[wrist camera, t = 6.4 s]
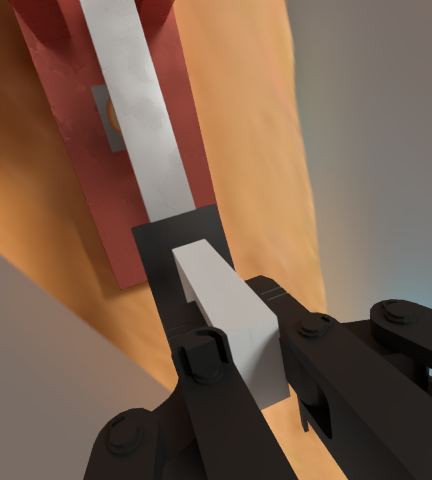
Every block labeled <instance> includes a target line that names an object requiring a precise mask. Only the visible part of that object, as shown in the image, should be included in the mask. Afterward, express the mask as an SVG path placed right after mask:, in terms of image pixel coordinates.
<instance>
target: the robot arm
mask: <svg viewBox="0 0 432 480" xmlns="http://www.w3.org/2000/svg"><path fill="white" fill-rule="evenodd" d="M172 252H173V255H174V258H175V262H176V265H177V269H178V272H179V275H180V279H181V282H182V286H183V289H184V292H185V296H186V299H187V303H186V304H183V305H180V306H177V307H175V308H172V309H169V310H167V312H166V315H165V318H164V323H165V327H166V330H167V334H168V337H169V341H170V344H171V348H172V355H171V357H172V360H173V363H174V366H175V369H176V371H177V374H178V377H179V378H178V383H177V386H176V388H175V390H174V391H173V393H172V394H171V395H170V397H169V398H168V399H167V400H166V401H165V402H163V403H162V404H161V405H160V406H158V407H157V408H156V409H155V410H153V411H152V412H151V411H149V410H146V409H144V408H133V409H129V410H127V411H124V412H122V413H119V414H118V415H117V416H115V417H114V418H112V419H111V420H110V421H109V422H108V423H107V424H106V425H105V426H104V427H103V429H102V430H101V431H100V433H99V434H98V437H97V439H96V441H95V443H94V445H93V448H92V452H91V455H90V458H89V462H88V465H87V468H86V472H85V475H84V479H83V480H298V478H297V476H296V474H295V472H294V471H293V469H292V467H291V465H290V463H289V461H288V460H287V458H286V456H285V454H284V452H283V451H282V449H281V447H280V445H279V443H278V442H277V440H276V438H275V436H274V434H273V432H272V431H271V429H270V427H269V425H268V423H267V422H266V420H265V418H264V416H263V414H262V412H261V411H260V410H262V409H265V408H267V407H269V406H271V405H273V404H275V403H277V402H280V401H282V400H284V399H286V398H288V397H290V391H289V385H288V383H289V384H290V385H291V387H292V388H293V389H294V391H295V392H296V394H297V398H298V404H299V410H300V416H301V423H302V426H303V429H304V431H305V432H307V431H309V429H308V423H307V421H308V422H309V423H310V425H311V426H312V428H313V429H314V431H315V432H316V434H317V435H318V437H319V438H320V439H321V441H322V442H323V444H324V445H325V447H326V448H327V450H328V451H329V452H330V454H331V455H332V457H333V458H334V460H335V461H336V463H337V464H338V465H339V467H340V468H341V470H342V471H343V473H344V474H345V476H346V477H347V479H348V480H432V376H430V375H429V368H431V369H432V309H430V308H428V307H425V306H422V305H419V304H417V303H414V302H410V301H405V300H396V299H390V300H385V301H381V302H378V303H376V304H374V305H373V307H372V308H371V309H370V319H368V320H362V321H355V322H348V323H340V322H338V321H337V320H336V319H334V318H332V317H331V316H329V315H327V314H322V313H318V312H317V313H311V312H309V311H308V310H307V309H306V308H305V307H304V306H303V305H301V304H300V303H299V302H298V301H297V300H296V299H295V298H293V297H292V296H291V295H290V294H289V293H287V291H285V290H284V289H283V288H282V287H280V285H279V284H277V283H276V282H275V281H274V280H273V279H270V278H268V277H265V276H262V275H260V276H257V277H254V278H251V279H249V280H246V281H243V280H242V279H241V277H240V276H239V275H238V274H237V273H236V272H235V271H234V270H233V269H232V268H231V267H230V266H229V265H228V263H227V262H226V261H225V260H224V259H223V258H222V257H221V256H220V255H219V254H218V253H217V252H216V251H215V249H214V248H213V247H212V246H211V245H210V244H209V243H208V242H207V241H206V240H205V239H203V240H199V241H196V242H193V243H190V244H187V245H184V246H181V247H178V248H175V249H172Z"/></svg>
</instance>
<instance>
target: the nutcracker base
mask: <svg viewBox="0 0 432 480" xmlns="http://www.w3.org/2000/svg"><path fill="white" fill-rule="evenodd" d="M9 1H10V3H11V4H12V7H13V10H14V12H15V15H16V18H17V20H18V23H19V25H20V28H21V31H22V33H23V36H24V39H25V41H26V44H27V46H28V49H29V52H30V54H31V57H32V60H33V62H34V65H35V67H36V70H37V73H38V75H39V78H40V81H41V83H42V86H43V88H44V91H45V94H46V96H47V99H48V102H49V104H50V107H51V109H52V112H53V115H54V117H55V120H56V123H57V125H58V128H59V130H60V133H61V136H62V138H63V141H64V144H65V146H66V149H67V152H68V154H69V157H70V159H71V162H72V165H73V167H74V170H75V173H76V175H77V178H78V180H79V183H80V186H81V188H82V191H83V194H84V196H85V199H86V201H87V204H88V207H89V209H90V212H91V215H92V217H93V220H94V222H95V225H96V228H97V230H98V233H99V236H100V238H101V241H102V243H103V246H104V249H105V251H106V254H107V257H108V259H109V262H110V264H111V267H112V270H113V272H114V275H115V278H116V280H117V283H118V285H119V288H120V290H122V289H125V288H128V287H131V286H134V285H136V284H139V283H142V282H145V281H148V279H147V276H146V273H145V270H144V267H143V264H142V261H141V258H140V255H139V252H138V249H137V246H136V243H135V240H134V237H133V234H132V231H131V228H132V227H135V226H138V225H141V224H145V223H148V222H149V219H148V216H147V212H146V209H145V206H144V203H143V200H142V197H141V194H140V191H139V187H138V184H137V181H136V178H135V175H134V172H133V169H132V166H131V162H130V159H129V156H128V153H127V150H126V147H125V144H124V141H123V137H122V134H121V131H120V128H119V125H118V122H117V119H116V116H115V112H114V109H113V106H112V103H111V100H110V97H109V94H108V91H107V87H106V84H105V81H104V78H103V75H102V72H101V69H100V66H99V62H98V59H97V56H96V53H95V50H94V47H93V44H92V41H91V37H90V34H89V31H88V28H87V25H86V22H85V19H84V16H83V12H82V9H81V6H80V3H79V0H9ZM174 1H175V0H134V2H135V5H136V9H137V12H138V15H139V19H140V22H141V25H142V29H143V32H144V36H145V39H146V42H147V46H148V49H149V52H150V56H151V59H152V62H153V66H154V69H155V73H156V76H157V79H158V83H159V86H160V89H161V93H162V96H163V100H164V103H165V106H166V110H167V113H168V116H169V120H170V123H171V126H172V130H173V133H174V137H175V140H176V143H177V147H178V150H179V153H180V157H181V160H182V163H183V167H184V170H185V174H186V177H187V180H188V184H189V187H190V190H191V194H192V197H193V201H194V204H195V207H196V208H199V207H202V206H205V205H210V204H216V205H217V202H216V198H215V193H214V189H213V184H212V180H211V175H210V171H209V166H208V162H207V157H206V153H205V148H204V144H203V139H202V135H201V131H200V126H199V122H198V117H197V113H196V108H195V104H194V99H193V95H192V90H191V86H190V81H189V77H188V72H187V68H186V64H185V59H184V55H183V50H182V46H181V41H180V37H179V32H178V28H177V23H176V19H175V14H174V10H173V3H174ZM217 209H218V207H217ZM218 212H219V211H218ZM219 216H220V215H219Z"/></svg>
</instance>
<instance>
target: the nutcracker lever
mask: <svg viewBox="0 0 432 480" xmlns="http://www.w3.org/2000/svg"><path fill="white" fill-rule="evenodd" d="M79 3H80V6H81V9H82V12H83V16H84V19H85V22H86V25H87V28H88V31H89V34H90V37H91V41H92V44H93V47H94V50H95V53H96V56H97V59H98V62H99V66H100V69H101V72H102V75H103V78H104V81H105V84H106V87H107V91H108V94H109V97H110V100H111V103H112V106H113V109H114V112H115V116H116V119H117V122H118V125H119V128H120V131H121V134H122V137H123V141H124V144H125V147H126V150H127V153H128V156H129V159H130V162H131V166H132V169H133V172H134V175H135V178H136V181H137V184H138V187H139V191H140V194H141V197H142V200H143V203H144V206H145V209H146V212H147V216H148V219H149V222H148V223H145V224H141V225H138V226H135V227H132V228H131V231H132V234H133V237H134V240H135V243H136V246H137V249H138V252H139V255H140V258H141V261H142V264H143V267H144V270H145V273H146V276H147V279H148V282H149V285H150V288H151V291H152V294H153V297H154V300H155V303H156V307H157V310H158V313H159V316H160V319H161V322H162V325H163V328H164V331H165V334H166V337H167V340H168V343H169V346H170V349H171V352H172V348H171V344H170V341H169V337H168V334H167V330H166V327H165V323H164V318H165V315H166V312H167V310H169V309H172V308H175V307H177V306H180V305H183V304H186V303H187V299H186V296H185V292H184V289H183V286H182V282H181V279H180V275H179V272H178V269H177V265H176V262H175V258H174V255H173V252H172V249H175V248H178V247H181V246H184V245H187V244H190V243H193V242H196V241H199V240H203V239H205V240H206V241H207V242H208V243H209V244H210V245H211V246H212V247H213V248H214V249H215V251H216V252H217V253H218V254H219V255H220V256H221V257H222V258H223V259H224V260H225V261H226V262H227V263H228V265H229V266H230V267H231V268H232V269H233V270H234V271H235V268H234V265H233V261H232V258H231V254H230V251H229V247H228V244H227V240H226V237H225V233H224V230H223V226H222V223H221V219H220V216H219V212H218V209H217V205H216V204H210V205H205V206H202V207H199V208H196V207H195V204H194V201H193V197H192V194H191V190H190V187H189V184H188V180H187V177H186V174H185V170H184V167H183V163H182V160H181V157H180V153H179V150H178V147H177V143H176V140H175V137H174V133H173V130H172V126H171V123H170V120H169V116H168V113H167V110H166V106H165V103H164V100H163V96H162V93H161V89H160V86H159V83H158V79H157V76H156V73H155V69H154V66H153V62H152V59H151V56H150V52H149V49H148V46H147V42H146V39H145V36H144V32H143V29H142V25H141V22H140V19H139V15H138V12H137V9H136V5H135V2H134V0H79Z"/></svg>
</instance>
